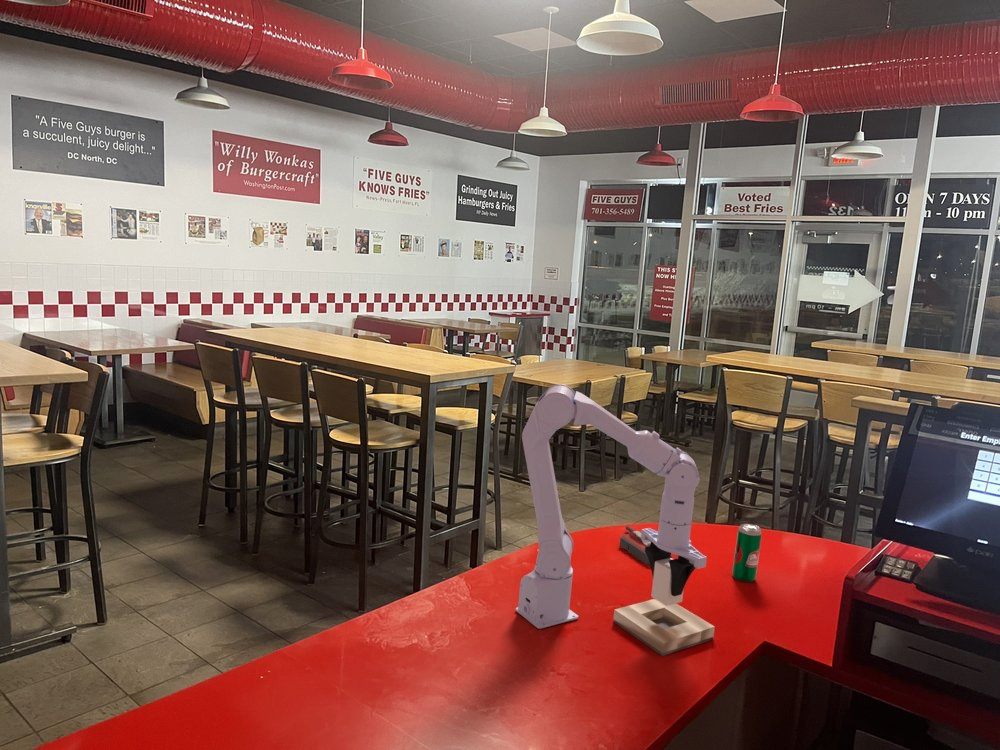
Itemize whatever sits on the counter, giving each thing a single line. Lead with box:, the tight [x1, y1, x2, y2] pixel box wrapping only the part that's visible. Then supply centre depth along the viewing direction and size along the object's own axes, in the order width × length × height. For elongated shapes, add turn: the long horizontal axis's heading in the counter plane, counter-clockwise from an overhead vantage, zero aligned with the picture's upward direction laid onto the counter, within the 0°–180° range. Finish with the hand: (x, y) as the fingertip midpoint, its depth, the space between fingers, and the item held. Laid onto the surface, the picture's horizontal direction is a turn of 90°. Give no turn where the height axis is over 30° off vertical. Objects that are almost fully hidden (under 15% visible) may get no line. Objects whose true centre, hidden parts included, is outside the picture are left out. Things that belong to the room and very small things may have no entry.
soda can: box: [731, 523, 763, 583], centre depth 160 cm, size 5×5×12 cm
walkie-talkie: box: [619, 525, 674, 566], centre depth 173 cm, size 9×4×20 cm
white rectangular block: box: [650, 557, 685, 606], centre depth 134 cm, size 4×4×7 cm
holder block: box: [613, 598, 715, 657], centre depth 135 cm, size 13×13×2 cm
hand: (667, 589), depth 134 cm, fingers closed on white rectangular block, 4 cm apart
